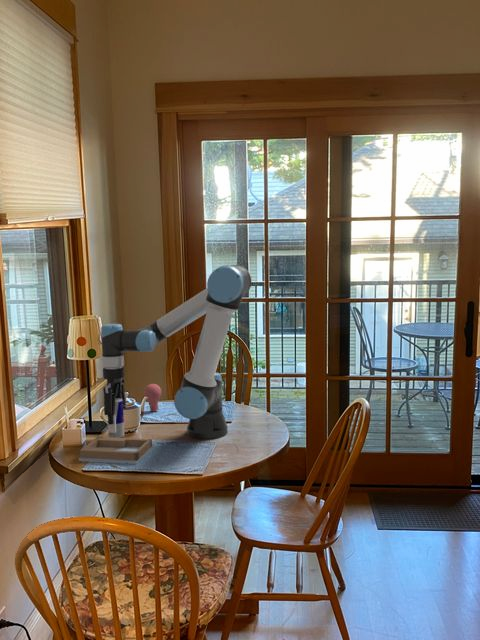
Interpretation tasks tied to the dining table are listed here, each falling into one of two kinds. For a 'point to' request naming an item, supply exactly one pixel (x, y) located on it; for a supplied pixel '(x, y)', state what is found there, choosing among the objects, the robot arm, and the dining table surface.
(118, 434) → the beverage can
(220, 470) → the dining table surface
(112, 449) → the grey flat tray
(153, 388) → the light bulb
